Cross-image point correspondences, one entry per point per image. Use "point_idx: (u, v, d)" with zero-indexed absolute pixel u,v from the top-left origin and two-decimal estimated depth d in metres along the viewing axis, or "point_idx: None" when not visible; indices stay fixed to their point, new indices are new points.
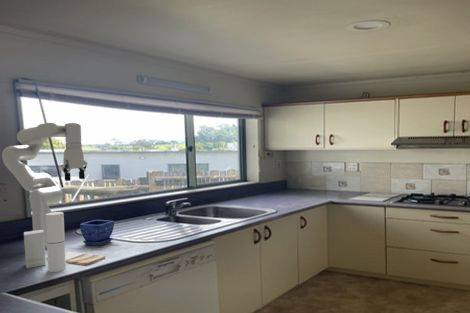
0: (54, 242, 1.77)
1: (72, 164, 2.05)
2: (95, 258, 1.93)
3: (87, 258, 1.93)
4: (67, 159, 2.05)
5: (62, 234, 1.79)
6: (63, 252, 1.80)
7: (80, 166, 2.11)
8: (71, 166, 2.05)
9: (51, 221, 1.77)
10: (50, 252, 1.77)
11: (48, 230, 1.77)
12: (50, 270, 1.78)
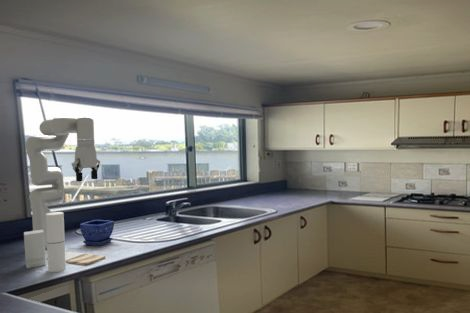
0: (54, 242, 1.77)
1: (84, 163, 1.87)
2: (95, 258, 1.93)
3: (87, 258, 1.93)
4: (79, 157, 1.86)
5: (62, 234, 1.79)
6: (63, 252, 1.80)
7: (93, 165, 1.92)
8: (83, 165, 1.86)
9: (51, 221, 1.77)
10: (50, 252, 1.77)
11: (48, 230, 1.77)
12: (50, 270, 1.78)
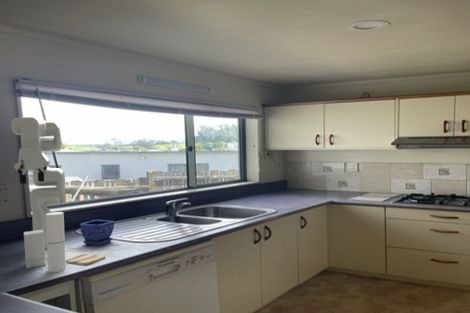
0: (54, 242, 1.77)
1: (28, 165, 1.81)
2: (95, 258, 1.93)
3: (87, 258, 1.93)
4: (22, 159, 1.81)
5: (62, 234, 1.79)
6: (63, 252, 1.80)
7: (38, 167, 1.87)
8: (27, 167, 1.81)
9: (51, 221, 1.77)
10: (50, 252, 1.77)
11: (48, 230, 1.77)
12: (50, 270, 1.78)
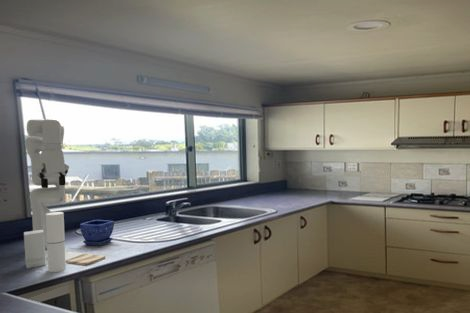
0: (54, 242, 1.77)
1: (50, 168, 1.75)
2: (95, 258, 1.93)
3: (87, 258, 1.93)
4: (44, 162, 1.74)
5: (62, 234, 1.79)
6: (63, 252, 1.80)
7: (60, 170, 1.80)
8: (49, 170, 1.75)
9: (51, 221, 1.77)
10: (50, 252, 1.77)
11: (48, 230, 1.77)
12: (50, 270, 1.78)
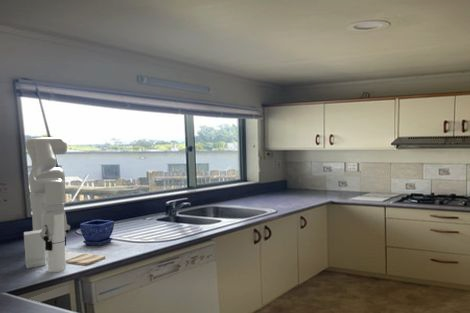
0: (54, 242, 1.77)
1: (52, 230, 1.76)
2: (95, 258, 1.93)
3: (87, 258, 1.93)
4: (46, 224, 1.76)
5: (62, 234, 1.79)
6: (63, 252, 1.80)
7: None
8: (51, 232, 1.76)
9: None
10: (50, 252, 1.77)
11: None
12: (50, 270, 1.78)
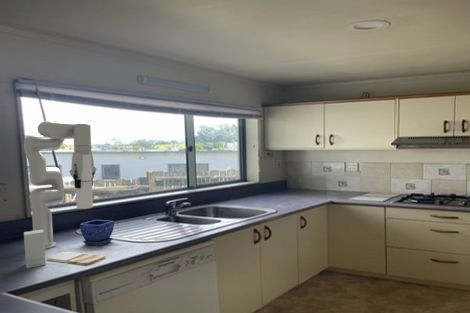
0: (83, 180, 1.89)
1: (81, 169, 1.88)
2: (95, 258, 1.93)
3: (87, 258, 1.93)
4: (76, 163, 1.87)
5: (90, 173, 1.91)
6: (91, 191, 1.92)
7: None
8: (80, 171, 1.87)
9: None
10: (79, 190, 1.89)
11: None
12: (79, 207, 1.89)
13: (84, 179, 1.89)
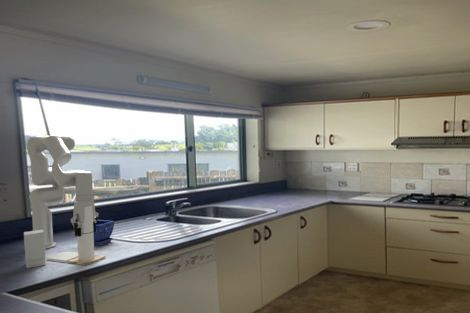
0: (84, 232, 1.90)
1: (83, 218, 1.89)
2: (95, 258, 1.93)
3: None
4: (77, 213, 1.88)
5: (91, 225, 1.92)
6: (92, 242, 1.93)
7: None
8: (82, 220, 1.88)
9: None
10: (80, 242, 1.90)
11: None
12: (80, 259, 1.91)
13: (85, 231, 1.90)
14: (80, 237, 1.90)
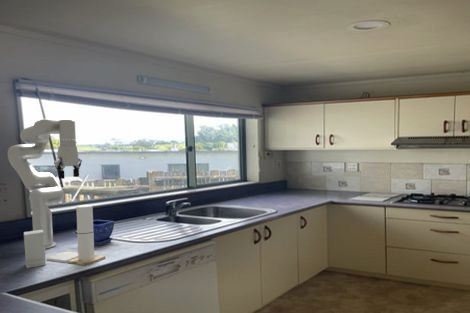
0: (84, 232, 1.90)
1: (66, 161, 2.02)
2: (95, 258, 1.93)
3: None
4: (61, 156, 2.01)
5: (91, 225, 1.92)
6: (92, 242, 1.93)
7: (74, 164, 2.07)
8: (65, 163, 2.01)
9: (81, 213, 1.89)
10: (81, 242, 1.90)
11: (79, 221, 1.90)
12: (80, 259, 1.91)
13: (86, 231, 1.90)
14: (80, 237, 1.90)
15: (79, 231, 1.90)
